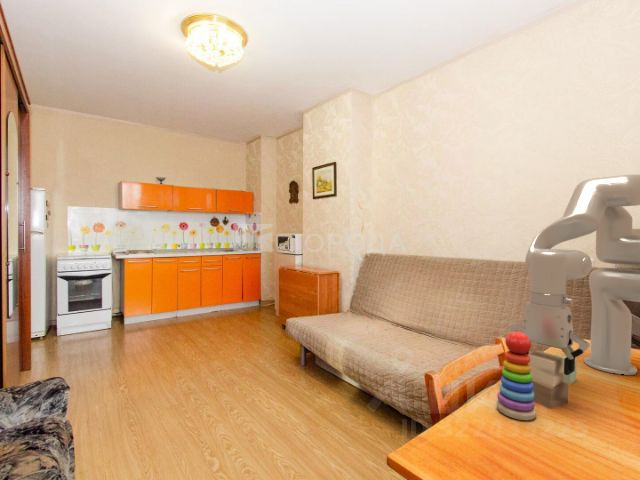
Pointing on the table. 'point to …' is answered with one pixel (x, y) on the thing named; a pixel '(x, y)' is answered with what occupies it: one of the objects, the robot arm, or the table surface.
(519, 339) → the stacking toy
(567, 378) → the sage block
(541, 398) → the walnut base
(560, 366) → the maple block
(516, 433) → the table surface
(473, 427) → the table surface
